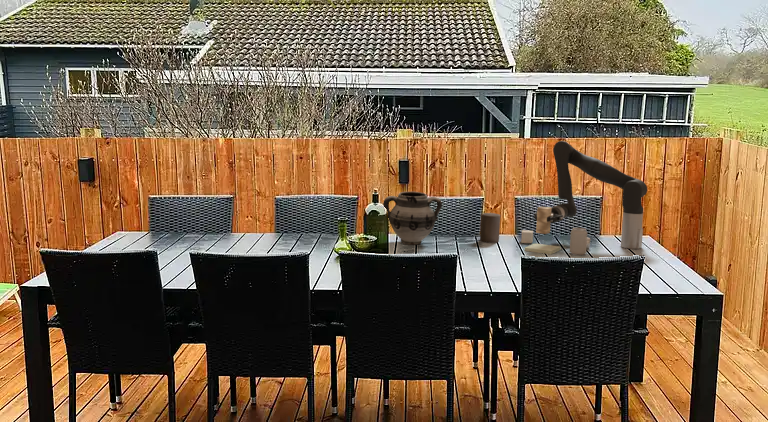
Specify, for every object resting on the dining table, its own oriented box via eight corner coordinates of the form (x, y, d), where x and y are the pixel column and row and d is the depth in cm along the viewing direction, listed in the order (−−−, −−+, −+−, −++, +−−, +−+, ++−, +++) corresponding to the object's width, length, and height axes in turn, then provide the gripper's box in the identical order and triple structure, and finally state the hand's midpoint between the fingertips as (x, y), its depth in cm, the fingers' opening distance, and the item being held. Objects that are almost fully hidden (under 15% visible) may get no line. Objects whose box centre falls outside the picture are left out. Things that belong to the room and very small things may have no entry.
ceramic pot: (440, 239, 350) (442, 190, 346) (441, 248, 327) (442, 196, 323) (384, 237, 351) (385, 189, 348) (380, 246, 329) (381, 195, 325)
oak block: (549, 232, 328) (551, 207, 326) (546, 234, 324) (547, 208, 322) (539, 231, 330) (541, 206, 329) (536, 232, 326) (537, 207, 324)
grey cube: (532, 241, 350) (533, 230, 349) (532, 243, 345) (532, 232, 344) (521, 240, 351) (522, 230, 351) (521, 242, 346) (521, 231, 345)
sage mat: (560, 249, 330) (560, 246, 330) (550, 254, 319) (551, 251, 319) (534, 246, 337) (534, 243, 337) (524, 250, 326) (524, 247, 326)
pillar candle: (478, 241, 345) (479, 212, 343) (481, 238, 355) (482, 209, 352) (497, 243, 343) (499, 214, 340) (500, 240, 352) (501, 211, 350)
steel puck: (585, 246, 338) (586, 236, 337) (591, 249, 332) (592, 239, 331) (574, 246, 336) (575, 236, 335) (580, 249, 331) (581, 239, 330)
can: (584, 252, 325) (585, 227, 323) (587, 255, 318) (589, 230, 316) (568, 251, 326) (569, 226, 324) (570, 255, 318) (572, 229, 317)
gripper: (541, 205, 341) (528, 209, 327) (569, 208, 333) (557, 212, 319) (540, 220, 342) (527, 224, 328) (568, 223, 334) (556, 228, 320)
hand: (541, 218), depth 324 cm, fingers closed on oak block, 5 cm apart
